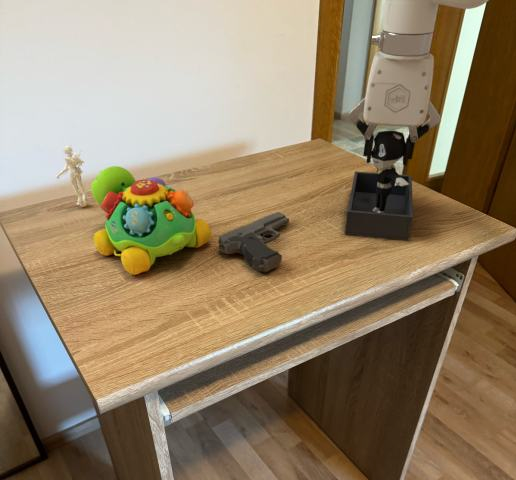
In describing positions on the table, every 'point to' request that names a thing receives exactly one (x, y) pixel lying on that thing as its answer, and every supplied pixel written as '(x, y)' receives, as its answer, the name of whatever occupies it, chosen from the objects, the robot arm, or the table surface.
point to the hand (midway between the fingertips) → (386, 160)
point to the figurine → (75, 174)
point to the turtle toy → (144, 219)
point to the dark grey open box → (372, 223)
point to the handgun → (255, 242)
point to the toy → (387, 164)
